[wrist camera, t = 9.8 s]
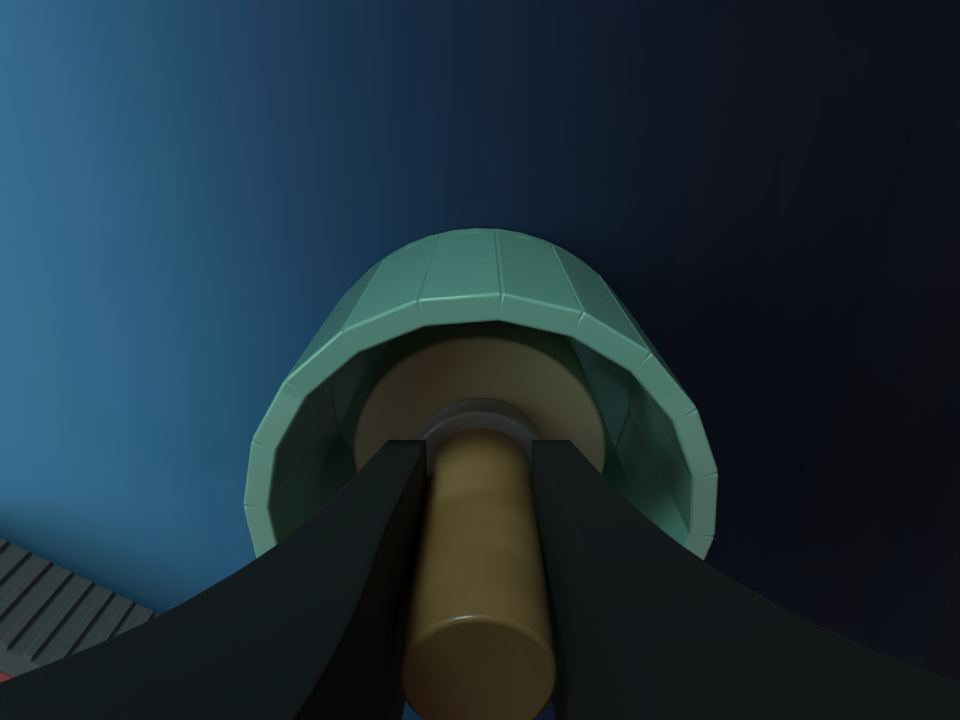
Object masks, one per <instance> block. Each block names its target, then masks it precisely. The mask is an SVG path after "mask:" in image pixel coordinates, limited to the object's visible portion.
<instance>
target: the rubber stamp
mask: <svg viewBox="0 0 960 720" xmlns="http://www.w3.org/2000/svg"><path fill="white" fill-rule="evenodd" d="M388 440H426V457H427V483H426V490H425V497H424V504H423V511H422V517H421V522H420V527H419V533H418V539H417V545H416V551H415V558H414V565H413V572H412V579H411V586H410V593H409V600H408V607H407V613H406V620H405V627H404V634H403V641H402V648H401V655H400V662H399V671H398V677H399V683H400V687H401V690H402V693H403V695H404V697H405V699H406V701H407V703H408V704H409V705H410V707H411V708H412V709H413V710H414V711H415V712H416V714H417V715H419V716H420V717H421V718H422V719H424V720H533V719H534V718H536V717H537V716H538V715H539V714H540V713H541V712H542V711H543V710H544V709H545V708H546V706H547V705H548V703H549V702H550V700H551V698H552V696H553V694H554V691H555V688H556V685H557V679H558V666H557V659H556V651H555V644H554V636H553V629H552V621H551V614H550V607H549V599H548V592H547V584H546V577H545V569H544V562H543V554H542V547H541V540H540V534H539V527H538V522H537V517H536V512H535V504H534V497H533V489H532V482H531V459H532V440H570V441H571V442H572V443H573V444H574V445H575V446H576V447H577V448H578V449H579V450H580V451H581V453H582V454H583V455H584V456H585V457H586V458H587V459H588V460H589V461H590V462H591V463H592V465H593V466H594V467H595V468H596V469H597V470H598V471H599V472H600V473H601V474H602V472H603V467H604V461H605V434H604V427H603V423H602V420H601V417H600V413H599V410H598V408H597V405H596V402H595V400H594V397H593V394H592V392H591V389H590V386H589V384H588V381H587V378H586V376H585V373H584V370H583V368H582V365H581V362H580V360H579V358H578V356H577V354H576V352H575V350H574V348H573V347H572V345H571V344H570V342H569V341H568V339H567V338H566V337H565V336H564V335H561V334H557V333H552V332H548V331H544V330H539V329H535V328H530V327H526V326H522V325H517V324H513V323H508V322H504V321H500V320H498V321H485V322H472V323H459V324H446V325H433V326H425V327H422V328H420V329H417V330H415V331H412V332H410V333H407V334H405V335H402V336H400V337H397V338H395V339H392V340H391V341H390V343H389V344H388V346H387V347H386V349H385V350H384V353H383V355H382V357H381V359H380V361H379V363H378V366H377V368H376V371H375V374H374V376H373V379H372V381H371V384H370V386H369V389H368V392H367V394H366V397H365V399H364V402H363V405H362V407H361V410H360V413H359V416H358V419H357V422H356V426H355V433H354V440H353V453H354V461H355V468H356V472H358V471H359V470H360V469H361V468H362V467H363V466H364V465H365V464H366V463H367V462H368V461H369V460H370V459H371V458H372V456H373V455H374V454H375V453H376V452H377V451H378V450H379V449H380V448H381V447H382V446H383V445H384V444H385V443H386V442H387V441H388Z"/></svg>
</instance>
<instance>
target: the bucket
mask: <svg viewBox="0 0 960 720" xmlns="http://www.w3.org/2000/svg"><path fill="white" fill-rule="evenodd" d="M498 320H500V321H504V322H508V323H513V324H517V325H522V326H526V327H530V328H535V329H539V330H544V331H548V332H552V333H557V334H561V335H564V336H565V337H566V338H567V339H568V341H569V342H570V344H571V345H572V347H573V348H574V350H575V352H576V354H577V356H578V358H579V360H580V362H581V365H582V368H583V370H584V373H585V376H586V378H587V381H588V384H589V386H590V389H591V392H592V394H593V397H594V400H595V402H596V405H597V408H598V410H599V413H600V417H601V420H602V423H603V427H604V434H605V461H604V467H603V472H602V475H603V476H604V477H605V478H606V479H607V480H608V481H609V482H610V484H611V485H612V486H613V487H614V488H615V489H616V490H618V491H619V492H620V493H621V494H622V495H623V496H624V497H625V498H626V499H627V500H628V501H629V502H630V503H631V504H632V505H633V506H635V507H636V508H637V509H638V510H639V511H640V512H641V513H642V514H644V515H645V516H646V517H647V518H648V519H650V520H651V521H652V522H653V523H654V524H656V525H657V526H658V527H659V528H660V529H662V530H663V531H664V532H665V533H666V534H668V535H669V536H670V537H672V538H673V539H674V540H676V541H677V542H678V543H680V544H681V545H682V546H684V547H685V548H686V549H688V550H689V551H691V552H692V553H694V554H695V555H697V556H698V557H700V558H701V559H702V560H704V559H705V557H706V554H707V552H708V550H709V548H710V545H711V543H712V541H713V535H714V534H715V520H716V502H717V485H718V473H717V466H716V463H715V460H714V457H713V454H712V451H711V448H710V445H709V442H708V439H707V436H706V433H705V430H704V427H703V424H702V421H701V418H700V415H699V412H698V410H697V408H696V407H695V404H694V403H693V402H692V400H691V399H690V397H689V396H688V394H687V393H686V392H685V390H684V389H683V387H682V386H681V384H680V383H679V382H678V380H677V379H676V377H675V376H674V374H673V373H672V371H671V370H670V369H669V367H668V366H667V364H666V363H665V361H664V360H663V359H662V357H661V356H660V354H659V353H658V351H657V350H656V349H655V347H654V346H653V344H652V343H651V341H650V340H649V338H648V337H647V336H646V334H645V333H644V331H643V330H642V328H641V327H640V326H639V324H638V323H637V321H636V320H635V318H634V317H633V316H632V314H631V313H630V312H629V310H628V309H627V308H626V307H625V305H624V304H623V303H622V302H621V300H620V299H619V298H618V297H617V295H616V294H615V292H614V291H613V290H612V289H611V288H610V286H609V285H608V284H607V283H606V282H605V281H604V279H603V278H602V277H601V276H600V275H599V274H598V273H597V272H595V271H594V270H593V269H592V268H590V267H589V266H588V265H587V264H586V263H585V262H583V261H582V260H580V259H579V258H577V257H576V256H574V255H573V254H571V253H569V252H568V251H566V250H565V249H563V248H560V247H558V246H556V245H554V244H552V243H550V242H548V241H545V240H543V239H540V238H536V237H533V236H530V235H527V234H523V233H519V232H513V231H507V230H501V229H480V228H475V229H464V230H453V231H449V232H444V233H440V234H436V235H431V236H428V237H426V238H423V239H420V240H418V241H415V242H412V243H410V244H408V245H406V246H404V247H402V248H400V249H398V250H397V251H395V252H393V253H391V254H389V255H388V256H386V257H385V258H384V259H382V260H381V261H380V262H378V263H377V264H375V265H374V266H373V267H371V268H370V269H369V270H368V271H367V272H366V273H365V274H364V275H363V276H362V277H361V278H360V279H359V280H358V281H357V282H356V283H355V284H354V286H353V287H351V288H350V289H349V290H348V291H347V292H346V293H345V294H344V296H343V297H342V298H341V300H340V301H339V303H338V304H337V305H336V307H335V308H334V310H333V311H332V313H331V314H330V315H329V317H328V318H327V320H326V321H325V323H324V324H323V325H322V327H321V328H320V330H319V331H318V333H317V334H316V335H315V337H314V338H313V340H312V341H311V343H310V344H309V346H308V347H307V348H306V350H305V351H304V353H303V354H302V356H301V357H300V358H299V360H298V361H297V363H296V364H295V366H294V367H293V368H292V370H291V371H290V373H289V374H288V376H287V377H286V378H285V380H284V381H283V383H282V385H281V387H280V389H279V390H278V392H277V394H276V396H275V398H274V400H273V401H272V403H271V405H270V407H269V409H268V411H267V412H266V414H265V416H264V418H263V420H262V422H261V423H260V425H259V427H258V429H257V431H256V433H255V434H254V436H253V441H252V442H251V448H250V455H249V463H248V471H247V479H246V487H245V495H244V510H245V514H246V518H247V522H248V526H249V530H250V534H251V538H252V542H253V546H254V550H255V554H256V558H258V557H260V556H261V555H263V554H264V553H265V552H267V551H268V550H270V549H271V548H273V547H274V546H275V545H277V544H278V543H279V542H281V541H282V540H283V539H285V538H286V537H287V536H289V535H290V534H291V533H293V532H294V531H295V530H296V529H298V528H299V527H300V526H301V525H302V524H303V523H305V522H306V521H307V520H308V519H309V518H310V517H311V516H313V515H314V514H315V513H316V512H317V511H318V510H319V509H321V508H322V507H323V506H324V505H325V504H326V503H327V502H328V501H329V500H330V499H331V498H332V497H333V496H334V495H335V494H336V493H337V492H339V491H340V490H341V489H342V488H343V487H344V486H345V485H346V484H347V483H348V482H349V481H350V480H351V479H352V478H353V477H354V476H355V475H356V473H357V472H356V468H355V461H354V453H353V440H354V433H355V426H356V422H357V419H358V416H359V413H360V410H361V407H362V405H363V402H364V399H365V397H366V394H367V392H368V389H369V386H370V384H371V381H372V379H373V376H374V374H375V371H376V368H377V366H378V363H379V361H380V359H381V357H382V355H383V353H384V350H385V349H386V347H387V346H388V344H389V343H390V341H391V340H392V339H395V338H397V337H400V336H402V335H405V334H407V333H410V332H412V331H415V330H417V329H420V328H422V327H425V326H433V325H446V324H459V323H472V322H485V321H498Z"/></svg>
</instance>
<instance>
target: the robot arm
mask: <svg viewBox="0 0 960 720" xmlns="http://www.w3.org/2000/svg"><path fill="white" fill-rule="evenodd" d="M531 482H532V489H533V497H534V504H535V512H536V517H537V522H538V527H539V534H540V540H541V547H542V554H543V562H544V569H545V577H546V584H547V592H548V599H549V607H550V614H551V621H552V629H553V636H554V644H555V651H556V659H557V666H558V679H557V685H556V688H555V691H554V694H553V696H552V701H553V706H554V711H555V716H556V720H960V683H958V682H955V681H952V680H950V679H947V678H945V677H942V676H939V675H937V674H934V673H932V672H929V671H926V670H924V669H921V668H919V667H916V666H913V665H911V664H908V663H905V662H903V661H900V660H898V659H895V658H892V657H890V656H887V655H885V654H882V653H879V652H877V651H874V650H872V649H869V648H867V647H865V646H862V645H860V644H858V643H856V642H854V641H851V640H849V639H847V638H845V637H843V636H840V635H838V634H836V633H834V632H832V631H830V630H827V629H825V628H823V627H821V626H819V625H817V624H814V623H812V622H810V621H808V620H806V619H804V618H802V617H800V616H798V615H796V614H794V613H792V612H790V611H788V610H786V609H784V608H782V607H781V606H779V605H777V604H775V603H773V602H772V601H770V600H768V599H766V598H764V597H763V596H761V595H759V594H757V593H756V592H754V591H752V590H750V589H749V588H747V587H745V586H743V585H741V584H740V583H738V582H736V581H735V580H733V579H731V578H730V577H728V576H727V575H725V574H723V573H722V572H720V571H719V570H717V569H716V568H714V567H713V566H711V565H710V564H708V563H707V562H705V561H704V560H702V559H701V558H700V557H698V556H697V555H695V554H694V553H692V552H691V551H689V550H688V549H686V548H685V547H684V546H682V545H681V544H680V543H678V542H677V541H676V540H674V539H673V538H672V537H670V536H669V535H668V534H666V533H665V532H664V531H663V530H662V529H660V528H659V527H658V526H657V525H656V524H654V523H653V522H652V521H651V520H650V519H648V518H647V517H646V516H645V515H644V514H642V513H641V512H640V511H639V510H638V509H637V508H636V507H635V506H633V505H632V504H631V503H630V502H629V501H628V500H627V499H626V498H625V497H624V496H623V495H622V494H621V493H620V492H619V491H618V490H616V489H615V488H614V487H613V486H612V485H611V484H610V482H609V481H608V480H607V479H606V478H605V477H604V476H603V475H602V474H601V473H600V472H599V471H598V470H597V469H596V468H595V467H594V466H593V465H592V463H591V462H590V461H589V460H588V459H587V458H586V457H585V456H584V455H583V454H582V453H581V451H580V450H579V449H578V448H577V447H576V446H575V445H574V444H573V443H572V442H571V441H570V440H532V459H531ZM426 483H427V457H426V440H388V441H387V442H386V443H385V444H384V445H383V446H382V447H381V448H380V449H379V450H378V451H377V452H376V453H375V454H374V455H373V456H372V458H371V459H370V460H369V461H368V462H367V463H366V464H365V465H364V466H363V467H362V468H361V469H360V470H359V471H358V472H357V473H356V475H355V476H354V477H353V478H352V479H351V480H350V481H349V482H348V483H347V484H346V485H345V486H344V487H343V488H342V489H341V490H340V491H339V492H337V493H336V494H335V495H334V496H333V497H332V498H331V499H330V500H329V501H328V502H327V503H326V504H325V505H324V506H323V507H322V508H321V509H319V510H318V511H317V512H316V513H315V514H314V515H313V516H311V517H310V518H309V519H308V520H307V521H306V522H305V523H303V524H302V525H301V526H300V527H299V528H298V529H296V530H295V531H294V532H293V533H291V534H290V535H289V536H287V537H286V538H285V539H283V540H282V541H281V542H279V543H278V544H277V545H275V546H274V547H273V548H271V549H270V550H268V551H267V552H265V553H264V554H263V555H261V556H260V557H258V558H257V559H255V560H254V561H252V562H251V563H250V564H248V565H247V566H245V567H243V568H242V569H240V570H239V571H237V572H236V573H234V574H232V575H230V576H229V577H227V578H225V579H224V580H222V581H220V582H218V583H217V584H215V585H213V586H212V587H210V588H208V589H206V590H205V591H203V592H201V593H200V594H198V595H196V596H194V597H193V598H191V599H189V600H188V601H186V602H184V603H182V604H180V605H178V606H177V607H175V608H173V609H171V610H169V611H167V612H165V613H163V614H161V615H159V616H157V617H155V618H153V619H151V620H149V621H147V622H145V623H143V624H141V625H138V626H136V627H134V628H132V629H130V630H128V631H125V632H123V633H121V634H119V635H117V636H115V637H112V638H110V639H108V640H106V641H103V642H101V643H99V644H97V645H94V646H92V647H90V648H87V649H85V650H83V651H80V652H77V653H75V654H72V655H70V656H67V657H65V658H62V659H59V660H57V661H54V662H52V663H49V664H47V665H44V666H41V667H39V668H36V669H34V670H31V671H29V672H26V673H23V674H21V675H18V676H16V677H13V678H11V679H8V680H5V681H2V682H0V720H402V715H403V710H404V704H405V697H404V695H403V693H402V690H401V687H400V683H399V677H398V671H399V662H400V655H401V648H402V641H403V634H404V627H405V620H406V613H407V607H408V600H409V593H410V586H411V579H412V572H413V565H414V558H415V551H416V545H417V539H418V533H419V527H420V522H421V517H422V511H423V504H424V497H425V490H426Z"/></svg>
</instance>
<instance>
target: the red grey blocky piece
mask: <svg viewBox="0 0 960 720" xmlns="http://www.w3.org/2000/svg"><path fill="white" fill-rule="evenodd" d="M157 616H159V614H157V613H155V612H154V611H153V610H150V609H148V608H145V607H142V606H140V605H138V604H136V603H134V601H132V600H130V599H126V598H124V597H122V596H120V595H118V594H115V593H114V592H113V591H111V590H109V589H105V588H103V587H101V586H99V585H97V584H95V583H93V582H92V581H90V580H88V579H84V578H82V577H80V576H78V575H76V574H74V573H73V572H71V571H69V570H67V569H63V568H61V567H59V566H57V565H55V564H53V563H52V562H50V561H48V560H46V559H42V558H40V557H38V556H36V555H34V554H32V553H31V552H29V551H28V550H25V549H23V548H20V547H17V546H15V545H13V544H11V543H9V542H8V541H7V540H5V539H3V538H0V682H2V681H5V680H8V679H11V678H13V677H16V676H18V675H21V674H23V673H26V672H29V671H31V670H34V669H36V668H39V667H41V666H44V665H47V664H49V663H52V662H54V661H57V660H59V659H62V658H65V657H67V656H70V655H72V654H75V653H77V652H80V651H83V650H85V649H87V648H90V647H92V646H94V645H97V644H99V643H101V642H103V641H106V640H108V639H110V638H112V637H115V636H117V635H119V634H121V633H123V632H125V631H128V630H130V629H132V628H134V627H136V626H138V625H141V624H143V623H145V622H147V621H149V620H151V619H153V618H155V617H157Z"/></svg>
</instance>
